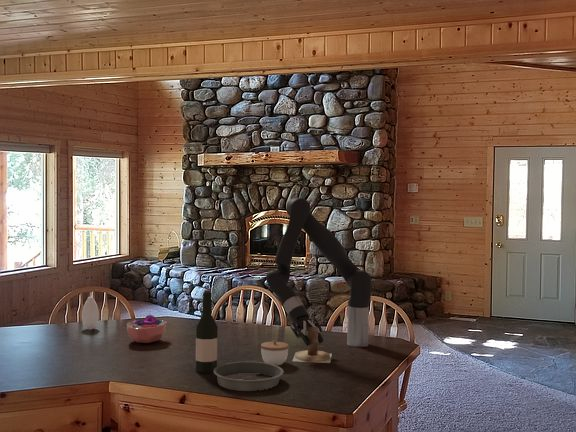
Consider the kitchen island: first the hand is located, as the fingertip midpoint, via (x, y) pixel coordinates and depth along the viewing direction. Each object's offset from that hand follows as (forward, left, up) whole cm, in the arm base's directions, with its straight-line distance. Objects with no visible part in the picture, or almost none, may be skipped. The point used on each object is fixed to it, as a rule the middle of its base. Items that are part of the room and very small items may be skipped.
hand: (315, 343), depth 268 cm
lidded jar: (+15, +11, -7) cm, 20 cm away
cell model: (+75, -16, -7) cm, 77 cm away
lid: (+1, -1, -6) cm, 6 cm away
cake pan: (+21, +36, -7) cm, 42 cm away
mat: (+1, -1, -6) cm, 7 cm away
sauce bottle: (+109, -36, -7) cm, 115 cm away
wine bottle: (+39, +24, -7) cm, 46 cm away
